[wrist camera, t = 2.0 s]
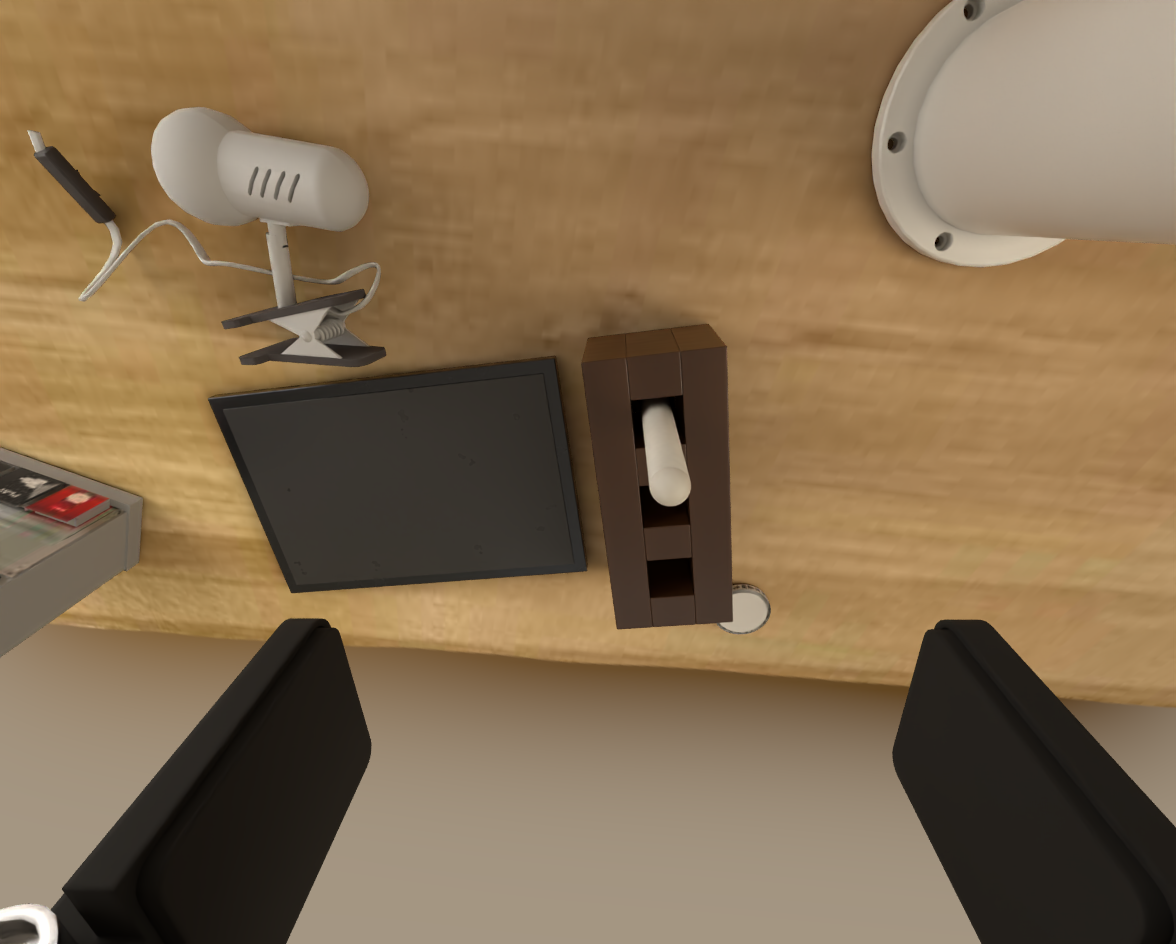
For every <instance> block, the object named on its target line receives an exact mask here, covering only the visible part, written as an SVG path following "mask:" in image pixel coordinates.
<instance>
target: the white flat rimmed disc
mask: <svg viewBox="0 0 1176 944" xmlns="http://www.w3.org/2000/svg"><path fill="white" fill-rule="evenodd" d="M732 595H733V622H726V623H716V624H717V625H718V626H719V627H720V628H721V629H723V630H724V631H726V632H729V633H732V634H748V633H751V632H754V631H756V630H758V629H760V628H761V627H762V626H763V625H764V624H765V623H766V622H767V620H768V619H769V617H770V612H771V608H770V604H769V601H768V599H767V597H766V595H765V594H764V593H763V592H762V591H761V590H760V589H758V588H757V587H754V586H751V585H746V584H739V585H733V586H732Z"/></svg>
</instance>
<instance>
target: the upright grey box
mask: <svg viewBox="0 0 1176 944" xmlns="http://www.w3.org/2000/svg"><path fill="white" fill-rule="evenodd" d="M142 505H143V498H142V497H139V496H136V495H133V494H130V493H128V492H125V491H122V490H119V489H116V488H113V487H111V486H108V485H105V484H102V483H99V482H96V481H94V480H91V479H88V478H85V477H82V476H80V475H77V474H74V473H71V472H68V471H65V470H63V469H60V468H57V467H54V466H51V465H48V464H46V463H43V462H40V461H37V460H34V459H32V458H29V457H26V456H23V455H20V454H17V453H15V452H12V451H9V450H6V449H3V448H0V657H1V656H3V655H5V654H6V653H7V652H9V651H10V650H11V649H13V648H14V647H16V646H17V645H19V644H20V643H21V642H23V641H24V640H26V639H27V638H28V637H30V636H31V635H33V634H34V633H36V632H37V631H38V630H40V629H41V628H43V627H44V626H45V625H46V624H48V623H50V622H51V621H52V620H54V619H55V618H57V617H58V616H59V615H61V614H62V613H64V612H65V611H66V610H68V609H69V608H71V607H72V606H73V605H75V604H76V603H78V602H79V601H81V600H82V599H83V598H85V597H86V596H88V595H89V594H90V593H92V592H93V591H95V590H96V589H97V588H99V587H100V586H102V585H103V584H104V583H106V582H107V581H109V580H110V579H111V578H113V577H114V576H116V575H117V574H118V573H120V572H121V571H123V570H124V571H128V570H129V569H130V568H132V567H133V566H135V565H136V564H137V563H139V553H140V537H141V521H142Z"/></svg>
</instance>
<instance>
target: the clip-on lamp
mask: <svg viewBox="0 0 1176 944" xmlns="http://www.w3.org/2000/svg"><path fill="white" fill-rule="evenodd" d="M27 131H28V133H29V136H30V139H31V141H32V144H33V146H34V149H35V151H36V152H35V153H34V156H35V158H36V159H37V160H38V161H39V162H40V163H41V164H42V165H43V166H44V167H45V168H46V169H47V170H48V171H49V173H50V174H51V175H52V176H53V177H54V178H55V179H56V180H57V181H58V182H59V183H60V184H61V185H62V186H63V187H64V189H65V190H66V191H67V192H68V193H69V194H70V195H71V196H72V197H73V198H74V199H75V200H76V201H77V202H78V203H79V205H80V206H81V207H82V208H83V209H84V210H85V211H86V212H87V213H88V214H89V215H90V216H91V217H92V218H93V219H94V221H95V222H97V223H105V225H106V226H107V227H108V229H109V230H110V233H111V237H112V241H113V246H112V250H111V253H110V257H109V259H108V260H107V262H106V263H105V265H104V267H103V268H102V270H101V271H100V272H99V273H98V275H97V276H96V277H95V278H94V280H93V281H92V282H91V283H90V284H89V285H88V287H87V288H86V289H85V290H84V291H83V292H82V294H81V295H80V297H79V298H78V299H79V300H80V301H86V300H87V299H89V298H90V297H91V296H92V295H93V294H94V293H95V292H96V291H97V290H98V289H99V288H100V287H101V286H102V285H103V284H104V283H105V281H106V280H107V279H108V278H109V277H110V275H111V274H112V273H113V272H114V271H115V269H116V268H117V267H118V266H119V265H120V263H121V262H122V261H123V260H124V259H125V257H126V256H127V255H128V254H129V253H130V251H131V250H132V249H133V248H134V247H135V246H136V245H137V244H138V243H139V242H140V241H141V240H142V239H143V238H144V237H145V236H146V235H147V234H149V233H150V232H151V231H152V230H154V229H155V228H156V227H159V226H162V225H166V224H168V225H172V226H175V227H177V228H178V229H179V230H180V231H181V232H182V233H183V234H184V235H185V237H186V238H187V239H188V241H189V242H190V244H191V246H192V247H193V249H194V251H195V252H196V254H197V256H198V257H199V259H200V260H201V261H202V263H203V264H205V265H208V266H229V267H235V268H240V269H245V270H250V271H255V272H260V273H264V274H269V275H273V280H274V286H275V292H276V298H277V304H278V306H277V307H273V308H269V309H265V310H262V311H258V312H255V313H251V314H247V315H244V316H240V317H236V318H233V319H229V320H225V321H222V322H221V323H222V325H223V327H224V329H230V328H237V327H241V326H245V325H248V324H252V323H257V322H262V321H266V320H269V321H271V322H273V323H275V324H277V325H279V326H281V327H283V328H285V329H287V330H289V331H291V332H293V333H295V334H297V335H299V338H292V339H288V340H285V341H283V342H280V343H277V344H274V345H271V346H268V347H265V348H263V349H260V350H257V351H254V352H251V353H248V354H245V355H242V356H240V357H239V359H240V361H241V364H242V365H257V364H261V363H264V362H267V361H282V362H294V363H307V364H319V365H332V366H344V367H360V366H365V365H368V364H370V363H372V362H375V361H377V360H379V359H381V358H383V357H385V356H386V352H385V348H384V347H378V346H369V345H368V344H367V343H365V342H364V341H363V340H361V339H360V338H359V337H357V336H356V335H355V334H353V333H352V332H351V331H349V330H348V329H347V328H345V322H344V321H345V320H346V318H347V317H348V315H349V314H350V313H353V312H356V311H358V310H360V309H361V308H363V307H364V306H365V305H367V304H368V303H369V301H370V300H371V299H372V297H373V296H374V294H375V292H376V290H377V287H378V285H379V282H380V277H381V268H380V266H379V264H378V263H376V262H369V263H365V264H362V265H359V266H357V267H355V268H353V269H351V270H349V271H347V272H345V273H343V274H341V275H340V276H338V277H336V278H334V279H331V280H324V279H315V278H308V277H302V276H297V275H292V268H291V262H290V255H289V248H288V242H287V234H286V227H285V226H300V225H303V226H309V227H315V228H320V229H326V230H332V231H340V232H341V231H344V230H347V229H349V228H352V227H354V226H355V225H356V224H357V223H358V222H359V221H360V220H361V219H362V218H363V217H364V214H365V212H366V210H367V208H368V203H369V189H368V184H367V181H366V179H365V176H364V173H363V172H362V170H361V169H360V167H359V166H358V164H357V163H356V162H355V161H354V160H353V159H352V158H351V157H350V156H349V155H348V154H347V153H345V152H344V151H343V150H341V149H338V148H335V147H332V146H326V145H320V144H315V143H309V142H303V141H297V140H292V139H286V138H280V137H275V136H269V135H263V134H258V133H253V132H252V131H251V130H249V129H248V128H247V127H245V126H244V125H243V124H241V123H240V122H238V121H237V120H236V119H234V118H233V117H231V116H229V115H227V114H225V113H221V112H218V111H215V110H212V109H208V108H204V107H193V108H184V109H179V110H176V111H174V112H172V113H171V114H169V115H168V116H166V117H165V118H163V119H162V120H161V121H160V123H159V124H158V126H157V128H156V129H155V131H154V134H153V139H152V145H151V153H152V162H153V167H154V170H155V173H156V175H157V178H158V180H159V183H160V184H161V186H162V187H163V189H164V190H165V192H166V193H167V195H168V196H169V198H170V199H172V200H173V201H174V202H175V203H176V204H177V205H178V206H179V207H181V208H182V209H183V210H184V211H185V212H187V213H189V214H190V215H192V216H195V217H197V218H199V219H201V220H203V221H205V222H207V223H211V224H215V225H225V226H239V225H243V224H246V223H249V222H252V221H254V220H256V219H257V218H260V222H266V223H267V224H268V231H269V232H268V233H266V238H267V244H268V250H269V256H270V262H271V268H272V270H267V269H262V268H258V267H253V266H248V265H244V264H239V263H232V262H226V261H211V260H210V258H209V256H208V255H207V253H206V252H205V250H204V248H203V247H202V245H201V244H200V243H199V241H198V240H197V238H196V237H195V236H194V235H193V234H192V232H191V231H190V230H189V229H188V228H186V227H185V226H184V225H183V224H181V223H180V222H177V221H174V220H171V219H168V220H163V221H159V222H156V223H154V224H153V225H152V226H150V227H149V228H148V229H146V230H145V231H143V232H142V233H141V234H140V235H139V236H138V237H137V238H136V239H135V240H134V241H133V242H132V243H131V244H130V245H129V246H128V247H127V248H126V249H125V251H124V252H123V253H122V254H121V255H120V256H119V253H120V249H121V245H122V239H121V235H120V231H119V228H118V227H117V226H116V224H115V223H114V221H113V219H114V218H115V216H116V215H115V213H114V212H113V211H112V210H111V209H110V208H109V207H108V206H107V205H106V203H105V202H104V201H103V200H102V199H101V198H100V197H99V196H100V194H98V193H97V192H96V191H95V190H93V189H92V188H91V187H90V186H89V185H88V183H87V182H86V181H85V180H84V179H83V178H82V177H81V175H80V173H79V172H78V170H75V169H74V168H73V167H72V166H71V165H70V163H69V162H68V161H67V160H66V159H65V158H64V157H63V156H62V155H61V153H60V152H59V151H58V150H57V149H56V148H55V147H53V146H51V147H45V145H44V142H43V139H42V136H41V134H40V133H39V132H36V131H31V130H27ZM118 256H119V258H118ZM117 258H118V259H117ZM370 267H375V268H377V274H376V277H375V280H374V283H373V285H372V287H371V289H370V291H369V293H368V294H367V295H366V294H365V291H364V289H360V290H355V291H350V292H345V293H340V294H334V295H329V296H325V297H320V298H316V299H313V300H309V301H305V302H301V303H297V302H296V295H295V289H294V282H293V279H294V280H300V281H305V282H312V283H319V284H340V283H342V282H344V281H345V280H347V279H348V278H350V277H352V276H353V275H355V274H357V273H359V272H361V271H363V270H365V269H368V268H370ZM362 298H364V299H363V300H362V301H361V302H360V303H359V304H358V305H356V303H357V301H358V300H359V299H362ZM355 305H356V306H355Z"/></svg>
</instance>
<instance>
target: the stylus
mask: <svg viewBox="0 0 1176 944" xmlns="http://www.w3.org/2000/svg"><path fill="white" fill-rule="evenodd" d="M640 404H641V413H642V422H643V432H644V441H645V451H646V460H647V469H648V479H649V488H650V492H651V495H652V497H653V498H654V499H655V500H656V501H657V502H658V503H660V504H661V505H664V506H676V505H679V504H681V503H683V502H684V501H685V500H686V499H687V497H688V496H689V494H690V490H691V481H690V478H689V474H688V470H687V466H686V462H685V459H684V455H683V451H682V447H681V443H680V440H679V436H678V432H677V428H676V424H675V421H674V417H673V413H672V409H671V405H670V402H669V398H668V397H660V398H651V399H641V400H640Z"/></svg>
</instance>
